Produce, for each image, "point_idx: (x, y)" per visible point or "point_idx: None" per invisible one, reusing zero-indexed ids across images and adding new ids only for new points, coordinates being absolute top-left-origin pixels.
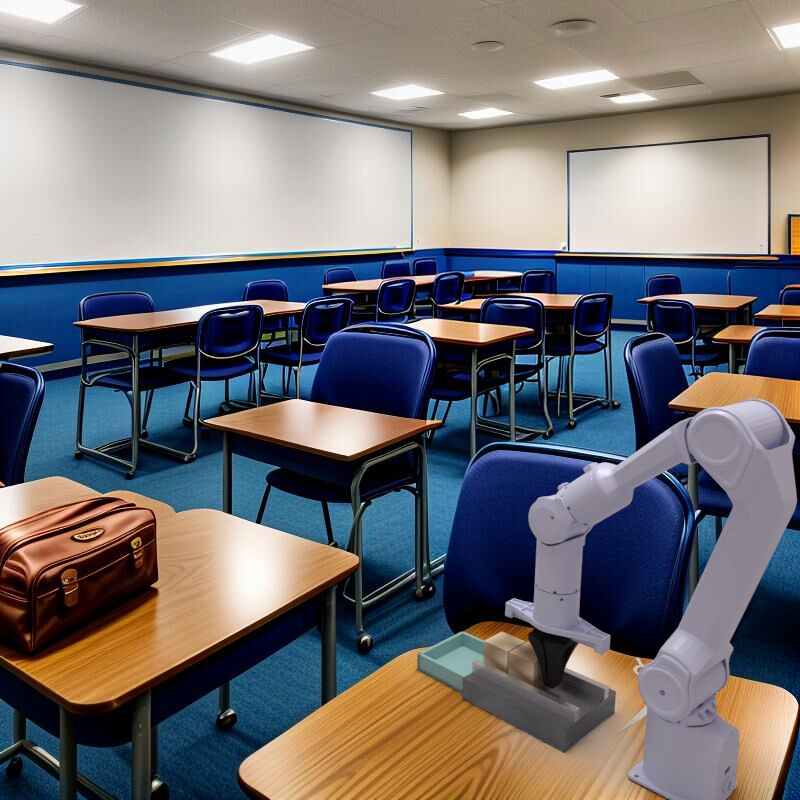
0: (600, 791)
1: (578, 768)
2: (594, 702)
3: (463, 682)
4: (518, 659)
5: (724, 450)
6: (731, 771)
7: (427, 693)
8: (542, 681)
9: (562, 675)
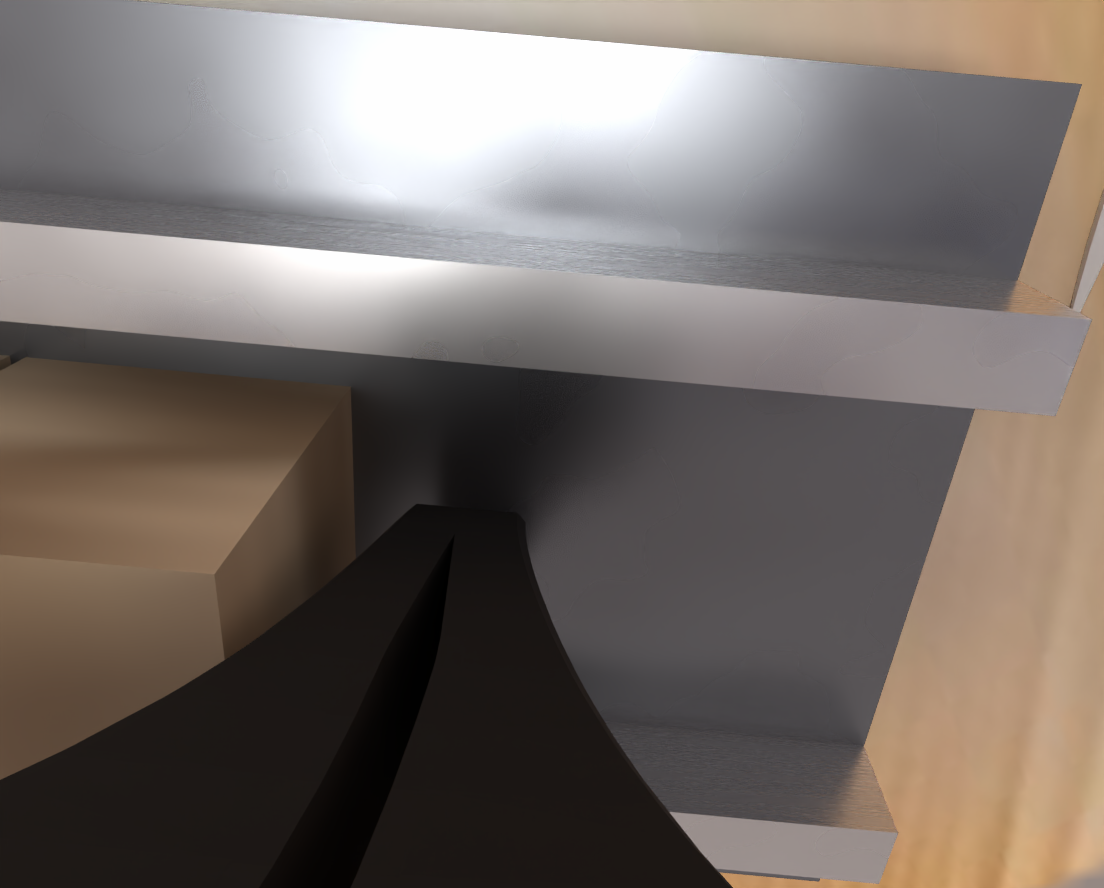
0: (1059, 872)
1: (901, 800)
2: (907, 466)
3: None
4: None
5: None
6: None
7: None
8: (342, 537)
9: (527, 553)
